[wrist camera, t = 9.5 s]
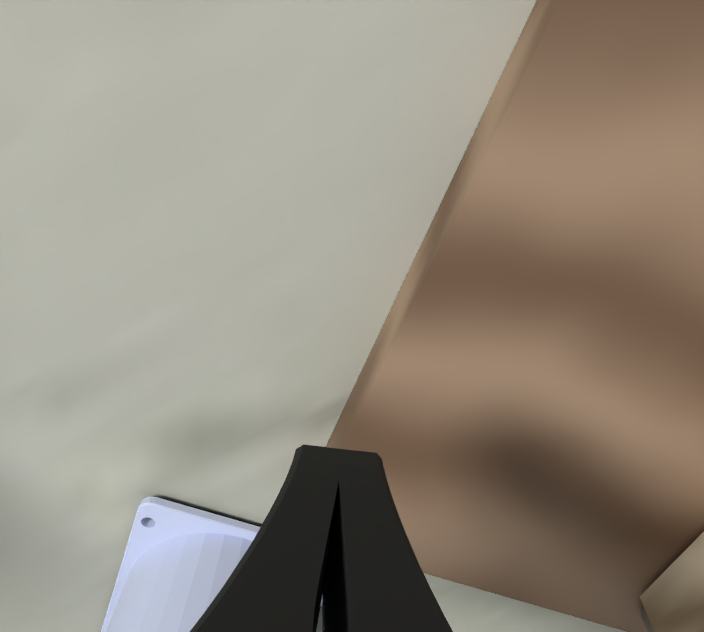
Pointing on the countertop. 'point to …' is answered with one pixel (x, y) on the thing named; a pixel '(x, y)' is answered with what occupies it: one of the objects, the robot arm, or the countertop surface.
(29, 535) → the countertop surface
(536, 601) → the wooden board
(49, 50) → the countertop surface
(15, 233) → the countertop surface
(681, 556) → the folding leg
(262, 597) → the robot arm
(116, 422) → the countertop surface
